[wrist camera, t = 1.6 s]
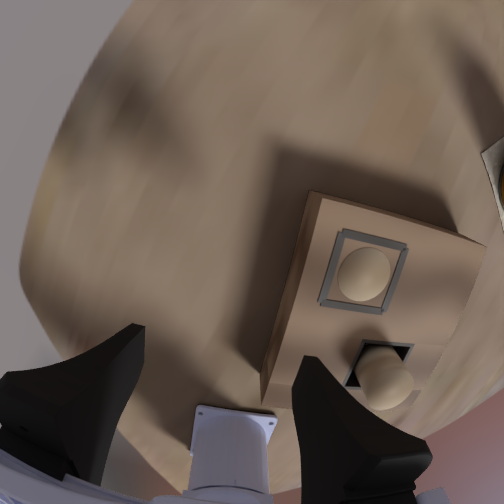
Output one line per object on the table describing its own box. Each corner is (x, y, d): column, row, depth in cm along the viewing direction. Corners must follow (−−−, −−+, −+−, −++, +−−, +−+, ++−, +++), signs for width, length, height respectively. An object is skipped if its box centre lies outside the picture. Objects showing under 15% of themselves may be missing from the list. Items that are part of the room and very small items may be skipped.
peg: (383, 377, 22) (400, 409, 18) (345, 375, 22) (359, 410, 18) (400, 342, 21) (422, 373, 17) (362, 339, 21) (380, 372, 17)
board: (394, 384, 26) (408, 410, 23) (259, 374, 25) (261, 406, 22) (458, 233, 22) (487, 247, 18) (309, 190, 21) (322, 198, 17)
